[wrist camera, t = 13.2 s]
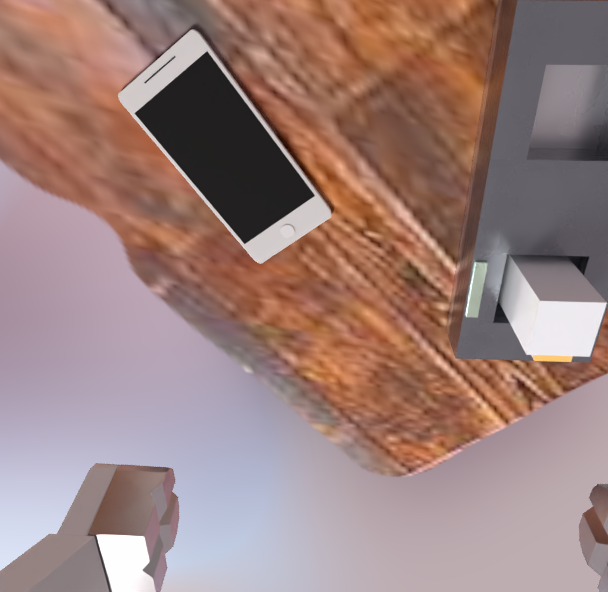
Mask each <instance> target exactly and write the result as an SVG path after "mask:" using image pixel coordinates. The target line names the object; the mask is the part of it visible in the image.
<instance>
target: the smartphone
mask: <svg viewBox="0 0 608 592" xmlns="http://www.w3.org/2000/svg"><path fill="white" fill-rule="evenodd" d="M118 96H119V99H120V102H121V103H122V104H123V106H124V107H125V108H126V109H127V110H128V112H129V113H130V114H131V115H132V116H133V117H134V119H135V120H136V121H137V122H138V123H139V125H140V126H141V127H142V128H143V129H144V130H145V132H146V133H147V134H148V135H149V136H150V138H151V139H152V140H153V141H154V142H155V143H156V145H157V146H158V147H159V148H160V149H161V151H162V152H163V153H164V154H165V155H166V156H167V158H168V159H169V160H170V161H171V162H172V164H173V165H174V166H175V167H176V168H177V169H178V171H179V172H180V173H181V174H182V175H183V177H184V178H185V179H186V180H187V181H188V182H189V184H190V185H191V186H192V187H193V188H194V190H195V191H196V192H197V193H198V194H199V195H200V197H201V198H202V199H203V200H204V201H205V203H206V204H207V205H208V206H209V207H210V208H211V210H212V211H213V212H214V213H215V214H216V216H217V217H218V218H219V219H220V220H221V222H222V223H223V224H224V225H225V226H226V227H227V229H228V230H229V231H230V232H231V233H232V235H233V236H234V237H235V238H236V239H237V240H238V242H239V243H240V244H241V245H242V246H243V248H244V249H245V250H246V251H247V252H248V253H249V255H250V256H251V257H252V258H253V259H254V260H255V261H256V262H257V263H263V262H264V261H266V260H267V259H269V258H270V257H272V256H273V255H275V254H276V253H278V252H279V251H281V250H282V249H284V248H285V247H287V246H288V245H290V244H291V243H293V242H295V241H296V240H298V239H299V238H301V237H302V236H304V235H305V234H307V233H308V232H310V231H311V230H313V229H314V228H316V227H317V226H319V225H320V224H322V223H323V222H325V221H326V220H328V219H329V218H331V209H330V207H329V206H328V204H327V203H326V201H325V200H324V199H323V197H322V196H321V195H320V193H319V192H318V191H317V189H316V188H315V187H314V185H313V184H312V183H311V181H310V180H309V179H308V177H307V176H306V175H305V173H304V172H303V170H302V169H301V168H300V166H299V165H298V164H297V162H296V161H295V160H294V158H293V157H292V156H291V154H290V153H289V152H288V150H287V149H286V148H285V146H284V145H283V144H282V142H281V141H280V139H279V138H278V137H277V135H276V134H275V133H274V131H273V130H272V129H271V127H270V126H269V125H268V123H267V122H266V121H265V119H264V118H263V117H262V115H261V114H260V113H259V111H258V110H257V108H256V107H255V106H254V104H253V103H252V102H251V100H250V99H249V98H248V96H247V95H246V94H245V92H244V91H243V90H242V88H241V87H240V86H239V84H238V83H237V82H236V80H235V79H234V77H233V76H232V75H231V73H230V72H229V71H228V69H227V68H226V67H225V65H224V64H223V63H222V61H221V60H220V59H219V57H218V56H217V55H216V53H215V52H214V51H213V49H212V48H211V46H210V45H209V44H208V42H207V41H206V40H205V38H204V37H203V36H202V35H201V33H200V32H198V31H197V30H195V29H193V30H190V31H189V32H188V33H187V34H186V35H184V36H183V37H182V38H181V39H180V40H179V41H178V42H176V43H175V44H174V45H173V46H172V47H171V48H170V49H169V50H167V51H166V52H165V53H164V54H163V55H162V56H161V57H160V58H158V59H157V60H156V61H155V62H154V63H153V64H152V65H150V66H149V67H148V68H147V69H146V70H145V71H144V72H143V73H141V74H140V75H139V76H138V77H137V78H136V79H135V80H134V81H132V82H131V83H130V84H129V85H128V86H127V87H126V88H124V89H123V90H122V91H121V92H120V93H119V95H118Z"/></svg>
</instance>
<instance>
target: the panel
mask: <svg viewBox="0 0 608 592" xmlns="http://www.w3.org/2000/svg"><path fill="white" fill-rule="evenodd" d="M507 255H547V256H567V257H568V258H569V259H570V260H571V262H572V263H573V264H574V265H575V266H576V267H577V269H578V270H579V271H580V272H581V273H582V274H583V276H584V277H585V278H586V279H587V280H588V281H589V282H590V284H591V285H592V286H593V287H594V288H595V289H596V291H597V292H598V293H599V294H600V295H601V296H602V298H603V299H604V300H605V301H606V302H607V304H606V307H605V311H604V314H603V317H602V320H601V323H600V326H599V329H598V333H597V336H596V339H595V342H594V345H593V348H592V351H591V355H590V357H582V356H573V357H572V361H571V362H590V360H591V357H592V354H593V351H594V347H595V344H596V341H597V338H598V335H599V332H600V329H601V326H602V322H603V319H604V316H605V313H606V310H607V307H608V0H498V3H497V10H496V16H495V23H494V29H493V35H492V42H491V48H490V54H489V61H488V67H487V74H486V80H485V86H484V93H483V99H482V105H481V112H480V118H479V125H478V131H477V137H476V144H475V150H474V156H473V163H472V169H471V175H470V182H469V188H468V195H467V201H466V207H465V214H464V220H463V226H462V233H461V239H460V246H459V252H458V258H457V265H456V271H455V277H454V284H453V290H452V297H451V303H450V309H449V316H448V322H447V328H446V330H447V333H448V336H449V339H450V342H451V345H452V348H453V351H454V355H455V358H460V359H493V360H527V361H534V360H533V358H532V356H531V355H526V353H525V351H524V349H523V347H522V345H521V343H520V341H519V339H518V338H517V336H516V334H515V332H514V330H513V328H512V326H511V324H510V322H509V320H508V319H507V317H506V315H505V313H504V311H503V309H502V307H501V305H500V303H499V301H498V297H499V292H500V287H501V282H502V277H503V273H504V268H505V263H506V258H507Z"/></svg>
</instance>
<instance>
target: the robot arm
mask: <svg viewBox="0 0 608 592" xmlns="http://www.w3.org/2000/svg"><path fill="white" fill-rule="evenodd" d="M174 484H175V477H174V471H173V469H172V468H166V467H151V466H135V465H114V464H98V463H96V464H95V465H94V466H93V467H92V468H91V469H90V470H89V472H88V474H87V476H86V478H85V480H84V482H83V484H82V486H81V488H80V490H79V492H78V494H77V496H76V498H75V500H74V502H73V503H72V506H71V507H70V509H69V511H68V513H67V516H66V517H65V519H64V522H63V523H62V526H61V527H60V529H59V531H58V533H57V534H49V535H47V536H46V537H45V538H43V539H42V540H41V541H40V542H38V543H37V544H35V545H34V546H33V547H31V548H30V549H29V550H28V551H26V552H25V553H24V554H22V555H21V556H20V557H18V558H17V559H16V560H14V561H13V562H12V563H10V564H9V565H8V566H6V567H5V568H4V569H2V570H1V571H0V592H160V591H161V587H162V584H163V580H164V577H165V573H166V570H167V564H166V558H165V553H166V552H168V551H169V550H170V549H171V548H172V547H173V545H174V541H175V538H176V534H177V528H178V521H179V502H178V497H177V496H176V495H175V494H174V493H173V492H172V490H173V487H174ZM589 499H590V501H591V503H592V505H593V507H592V508H590V509H589V510H587V511H586V512H585V513H583V515H582V518H581V521H580V524H579V541H580V545H581V548H582V553H583V555H584V557H585V560H586V562H587V564H588V566H590V567H591V568H592V569H593V570H594V571H595V572H597V573H598V574H599V575H600V576H601V579H600V582H599V585H598V589H599V592H608V484H597V485H596V486H595V487H594V488H593V489H592V491H591V494H590V496H589Z"/></svg>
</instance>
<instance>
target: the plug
mask: <svg viewBox="0 0 608 592" xmlns="http://www.w3.org/2000/svg"><path fill="white" fill-rule="evenodd" d="M498 301H499V303H500V305H501V307H502V309H503V311H504V313H505V315H506V317H507V319H508V320H509V322H510V324H511V326H512V328H513V330H514V332H515V334H516V336H517V338H518V339H519V341H520V343H521V345H522V347H523V349H524V351H525V353H526V355H531V356H532V358H533V360H534V361H560V362H571V361H572V357H573V356H582V357H590V355H591V351H592V348H593V345H594V342H595V339H596V336H597V333H598V329H599V326H600V323H601V320H602V317H603V314H604V311H605V307H606V304H607V302H606V301H605V300H604V299H603V298H602V296H601V295H600V294H599V293H598V292H597V291H596V289H595V288H594V287H593V286H592V285H591V284H590V282H589V281H588V280H587V279H586V278H585V277H584V276H583V274H582V273H581V272H580V271H579V270H578V269H577V267H576V266H575V265H574V264H573V263H572V262H571V260H570V259H569V258H568V257H567V256H547V255H507V258H506V263H505V268H504V273H503V277H502V282H501V287H500V292H499V297H498Z"/></svg>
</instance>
